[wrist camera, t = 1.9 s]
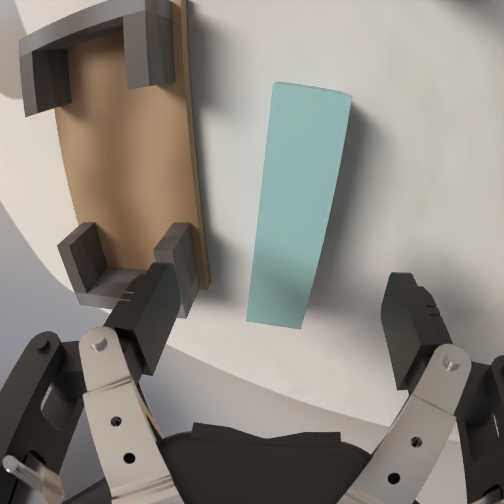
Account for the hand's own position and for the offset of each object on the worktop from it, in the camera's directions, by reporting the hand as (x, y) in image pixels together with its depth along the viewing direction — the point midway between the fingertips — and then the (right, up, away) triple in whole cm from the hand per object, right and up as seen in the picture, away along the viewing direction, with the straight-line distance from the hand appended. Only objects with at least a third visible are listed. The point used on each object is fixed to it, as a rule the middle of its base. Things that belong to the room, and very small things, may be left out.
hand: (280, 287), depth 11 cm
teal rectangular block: (+2, +5, +8) cm, 10 cm away
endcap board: (-9, +8, +8) cm, 15 cm away
